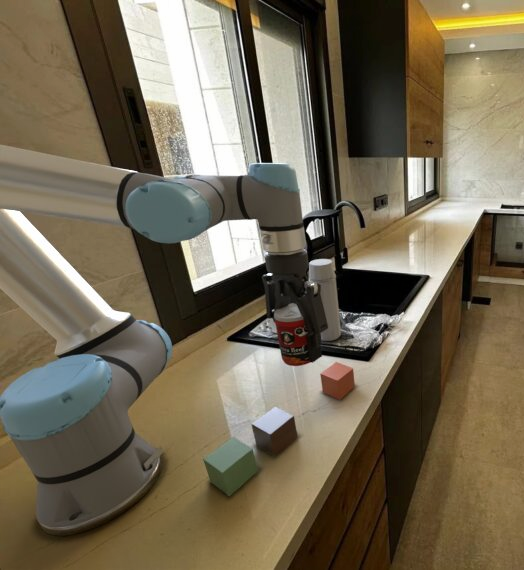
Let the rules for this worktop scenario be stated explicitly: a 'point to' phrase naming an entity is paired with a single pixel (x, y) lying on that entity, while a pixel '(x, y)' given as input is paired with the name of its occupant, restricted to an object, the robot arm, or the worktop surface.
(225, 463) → the block sage
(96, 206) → the robot arm
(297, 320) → the canned food
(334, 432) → the worktop surface
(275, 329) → the jar
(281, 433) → the block walnut
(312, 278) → the water bottle
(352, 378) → the block terracotta
